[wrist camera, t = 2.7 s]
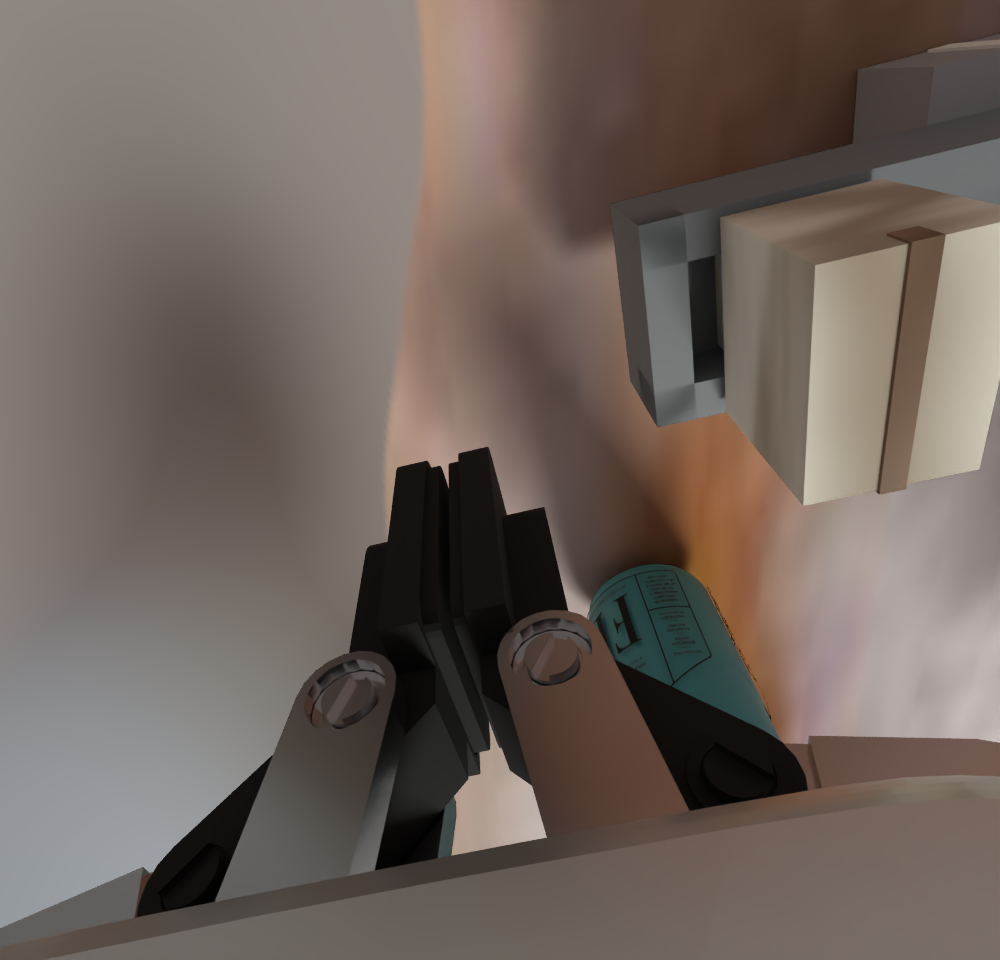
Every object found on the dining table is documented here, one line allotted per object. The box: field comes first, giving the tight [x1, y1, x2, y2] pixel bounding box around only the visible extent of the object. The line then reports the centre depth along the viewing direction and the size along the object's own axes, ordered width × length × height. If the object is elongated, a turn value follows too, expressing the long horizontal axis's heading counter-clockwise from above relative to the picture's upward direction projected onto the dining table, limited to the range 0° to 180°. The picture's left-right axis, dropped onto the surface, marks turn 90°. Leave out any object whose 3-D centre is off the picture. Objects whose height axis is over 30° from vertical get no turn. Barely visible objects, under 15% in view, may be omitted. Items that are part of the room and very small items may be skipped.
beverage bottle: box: [587, 564, 781, 741], centre depth 25 cm, size 6×7×20 cm
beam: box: [610, 34, 1000, 427], centre depth 20 cm, size 24×9×8 cm, turn 102°
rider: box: [715, 179, 1000, 506], centre depth 16 cm, size 4×6×7 cm
